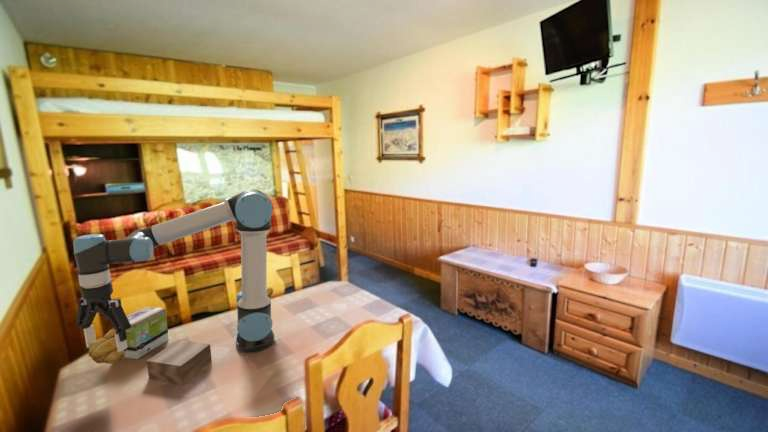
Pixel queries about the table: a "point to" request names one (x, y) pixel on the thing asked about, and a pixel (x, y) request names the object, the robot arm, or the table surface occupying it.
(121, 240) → the robot arm
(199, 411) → the table surface
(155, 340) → the tea box
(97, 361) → the bread roll
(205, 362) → the walnut block
